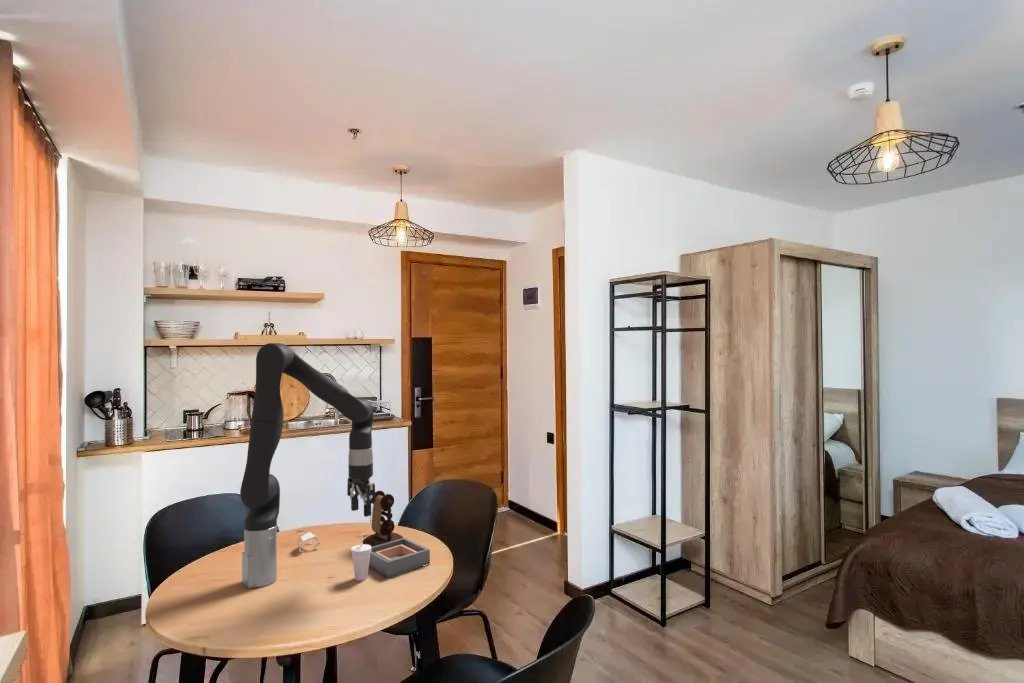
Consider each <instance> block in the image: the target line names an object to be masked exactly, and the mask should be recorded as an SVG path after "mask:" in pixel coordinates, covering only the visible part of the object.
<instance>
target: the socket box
mask: <svg viewBox="0 0 1024 683" xmlns="http://www.w3.org/2000/svg"><path fill="white" fill-rule="evenodd" d="M371 549H372V550H371V551H370V560H369V568H368V569H371V570H373V571H375V572H376V573H378V574H379V575H381V576H383V577H384V578H386V579H390V578H393V577H396V576H400V575H403V574H405V572H406V573H409V572H411V571H414V570H417V569H419V568H418V567H420V568H422V567H421V566H423V565H426V564H429V563H430V564H431V549H430V548H429V547H426V546H424V545H421V544H419V543H417V542H415V541H413V540H411V539H408V538H407V537H403V538H402V539H398V540H395V541H391V542H388V543H384V544H381V545H377V546H373V547H371ZM430 564H429V565H430ZM426 566H427V565H426ZM423 567H424V566H423ZM416 568H417V569H416ZM413 569H414V570H413ZM410 570H411V571H410Z"/></svg>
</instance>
